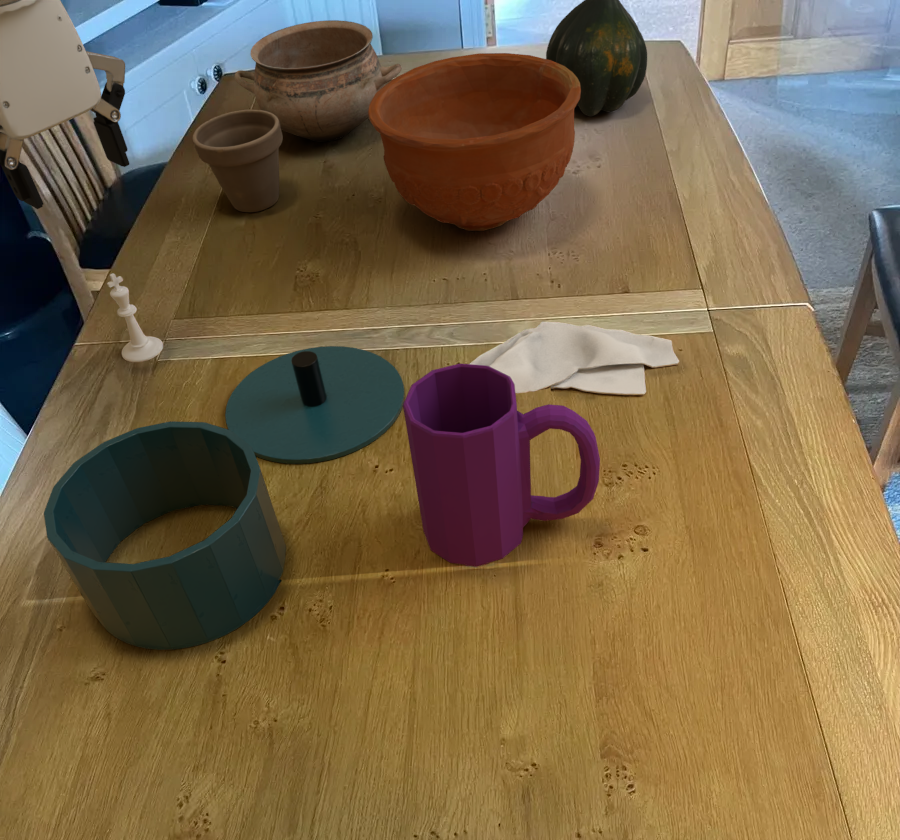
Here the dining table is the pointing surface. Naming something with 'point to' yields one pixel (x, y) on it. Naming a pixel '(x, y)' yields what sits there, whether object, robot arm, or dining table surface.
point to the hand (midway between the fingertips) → (77, 182)
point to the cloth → (579, 358)
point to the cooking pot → (317, 77)
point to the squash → (600, 53)
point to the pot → (152, 495)
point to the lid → (315, 404)
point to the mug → (485, 462)
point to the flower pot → (243, 156)
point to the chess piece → (133, 326)
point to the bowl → (477, 135)
